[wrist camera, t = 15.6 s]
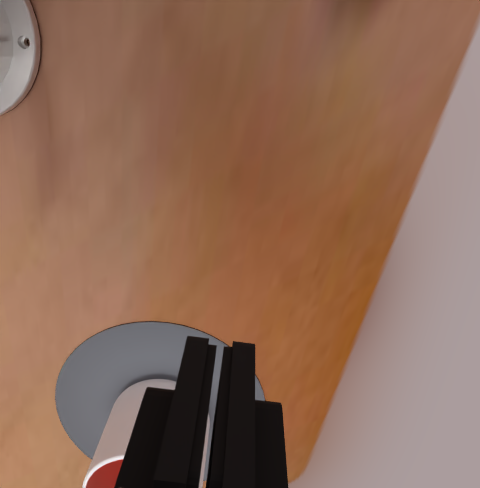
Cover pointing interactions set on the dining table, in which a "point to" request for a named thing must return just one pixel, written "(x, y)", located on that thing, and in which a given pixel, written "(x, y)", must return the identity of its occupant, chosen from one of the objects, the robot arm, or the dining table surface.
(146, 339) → the mat
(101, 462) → the cup
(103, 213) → the dining table surface
